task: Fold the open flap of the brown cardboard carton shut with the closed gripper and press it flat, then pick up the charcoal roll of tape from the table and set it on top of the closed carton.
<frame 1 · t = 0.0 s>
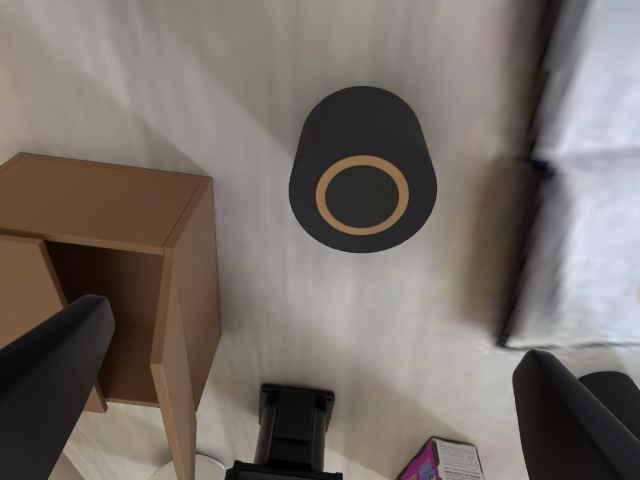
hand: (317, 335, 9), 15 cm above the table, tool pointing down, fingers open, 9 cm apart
drinking cup: (597, 386, 34), on the table
flap: (180, 402, 20), point 10 cm above the table, hinge at 105.0°
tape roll: (360, 147, 22), on the table
trinket box: (198, 464, 47), on the table
carton: (136, 257, 28), on the table
candy bar box: (432, 462, 43), on the table
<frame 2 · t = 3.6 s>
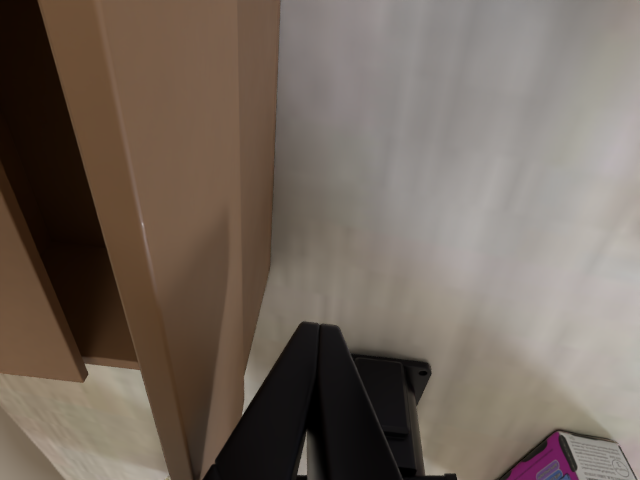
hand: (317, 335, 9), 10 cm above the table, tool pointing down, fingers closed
flap: (213, 333, 9), point 10 cm above the table, hinge at 93.6°, touching gripper
carton: (137, 120, 16), on the table
candy bar box: (544, 465, 32), on the table
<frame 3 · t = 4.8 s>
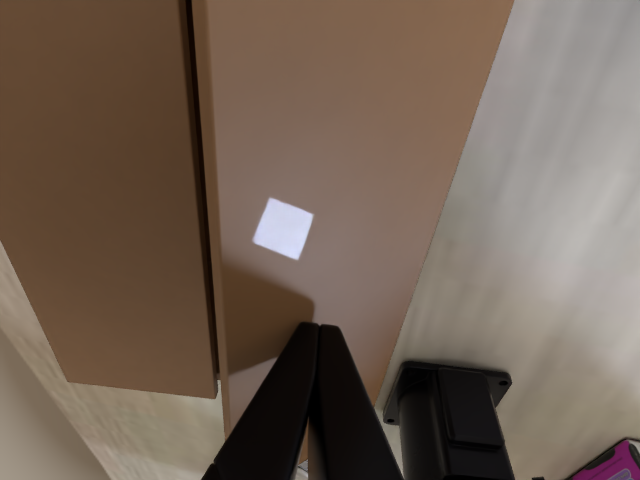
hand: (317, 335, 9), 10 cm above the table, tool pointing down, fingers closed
flap: (331, 312, 10), point 9 cm above the table, hinge at 38.2°
trinket box: (276, 475, 36), on the table
carton: (257, 135, 16), on the table
candy bar box: (605, 472, 32), on the table
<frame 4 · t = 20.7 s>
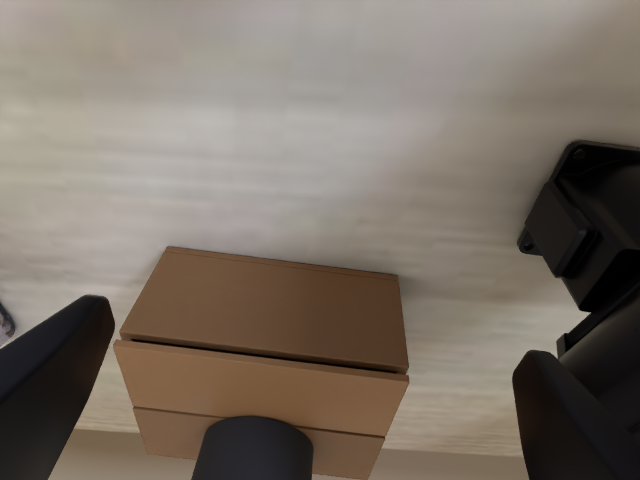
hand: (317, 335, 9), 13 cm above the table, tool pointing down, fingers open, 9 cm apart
flap: (261, 391, 21), point 7 cm above the table, hinge at -0.8°
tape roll: (259, 445, 24), point 7 cm above the table, touching carton
carton: (278, 320, 28), on the table
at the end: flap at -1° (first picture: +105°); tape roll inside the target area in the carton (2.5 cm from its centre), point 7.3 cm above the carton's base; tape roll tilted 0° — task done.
